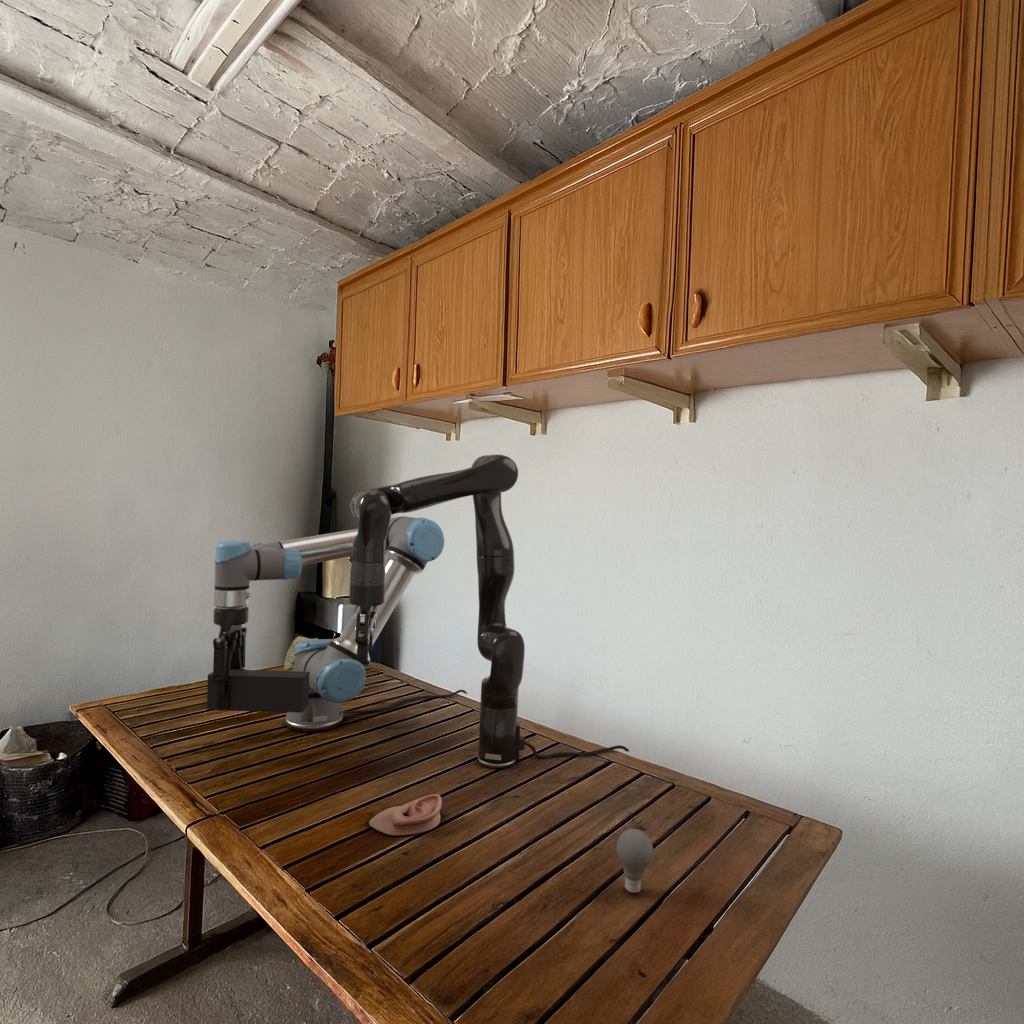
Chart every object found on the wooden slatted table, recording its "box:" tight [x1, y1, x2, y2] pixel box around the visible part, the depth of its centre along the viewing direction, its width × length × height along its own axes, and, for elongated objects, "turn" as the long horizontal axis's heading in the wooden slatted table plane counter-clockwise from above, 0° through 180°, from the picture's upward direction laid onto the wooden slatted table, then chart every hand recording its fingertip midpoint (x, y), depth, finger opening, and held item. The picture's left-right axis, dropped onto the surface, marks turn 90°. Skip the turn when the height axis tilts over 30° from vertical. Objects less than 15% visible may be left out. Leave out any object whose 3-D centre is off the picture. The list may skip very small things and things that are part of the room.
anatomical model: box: [368, 793, 443, 836], centre depth 125 cm, size 13×4×12 cm
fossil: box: [283, 636, 319, 671], centre depth 215 cm, size 9×18×15 cm, turn 132°
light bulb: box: [615, 828, 654, 894], centre depth 106 cm, size 6×6×10 cm
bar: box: [206, 669, 309, 713], centre depth 150 cm, size 22×5×8 cm, turn 91°
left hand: (228, 704), depth 150 cm, fingers closed on bar, 5 cm apart
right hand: (364, 656), depth 138 cm, fingers open, 8 cm apart
